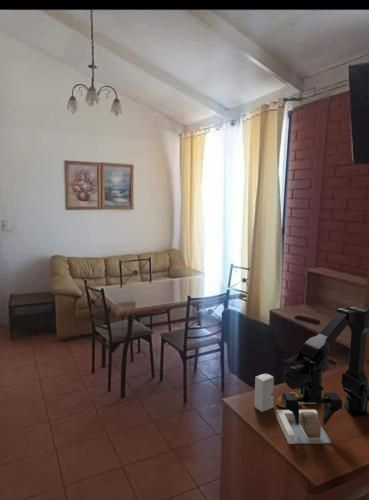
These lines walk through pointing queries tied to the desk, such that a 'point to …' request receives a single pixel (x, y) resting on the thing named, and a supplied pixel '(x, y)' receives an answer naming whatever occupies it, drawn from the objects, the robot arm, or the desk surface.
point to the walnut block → (310, 424)
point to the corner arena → (298, 429)
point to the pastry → (279, 401)
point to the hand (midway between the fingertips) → (310, 424)
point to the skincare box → (264, 392)
